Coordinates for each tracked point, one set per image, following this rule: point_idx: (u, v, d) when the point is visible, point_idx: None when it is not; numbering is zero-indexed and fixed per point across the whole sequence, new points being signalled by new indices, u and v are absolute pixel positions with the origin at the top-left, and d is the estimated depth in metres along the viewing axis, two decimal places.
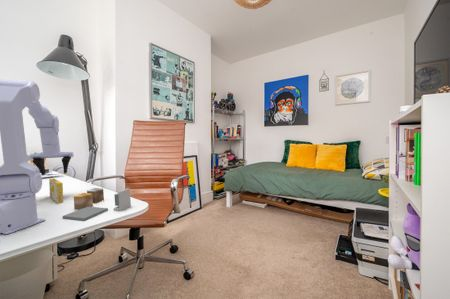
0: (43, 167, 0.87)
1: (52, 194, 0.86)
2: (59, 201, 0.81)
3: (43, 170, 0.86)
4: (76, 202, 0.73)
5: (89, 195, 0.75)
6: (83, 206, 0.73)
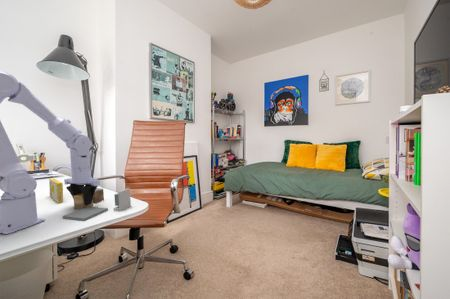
0: None
1: (52, 194, 0.86)
2: (59, 201, 0.81)
3: None
4: (76, 202, 0.73)
5: None
6: (83, 206, 0.73)
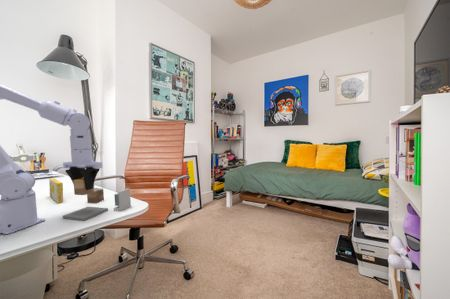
0: None
1: (52, 194, 0.86)
2: (59, 201, 0.81)
3: None
4: (77, 187, 0.67)
5: None
6: (84, 191, 0.67)
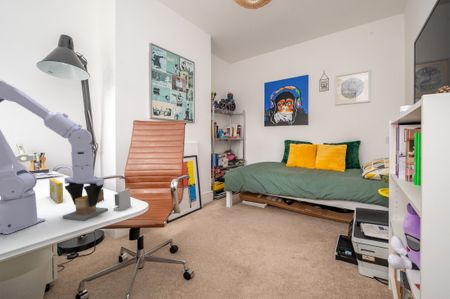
0: (78, 195, 0.69)
1: (52, 194, 0.86)
2: (59, 201, 0.81)
3: (76, 198, 0.68)
4: (78, 206, 0.66)
5: None
6: (86, 210, 0.66)
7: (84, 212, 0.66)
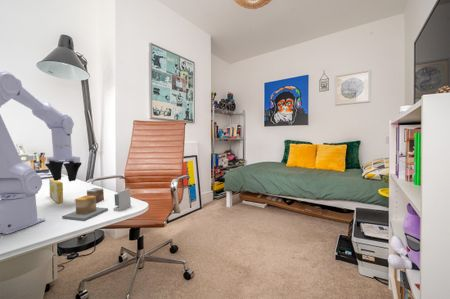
0: (58, 172, 0.80)
1: (52, 194, 0.86)
2: (59, 201, 0.81)
3: (55, 175, 0.79)
4: (78, 206, 0.66)
5: (92, 198, 0.68)
6: (86, 210, 0.66)
7: (84, 212, 0.66)
